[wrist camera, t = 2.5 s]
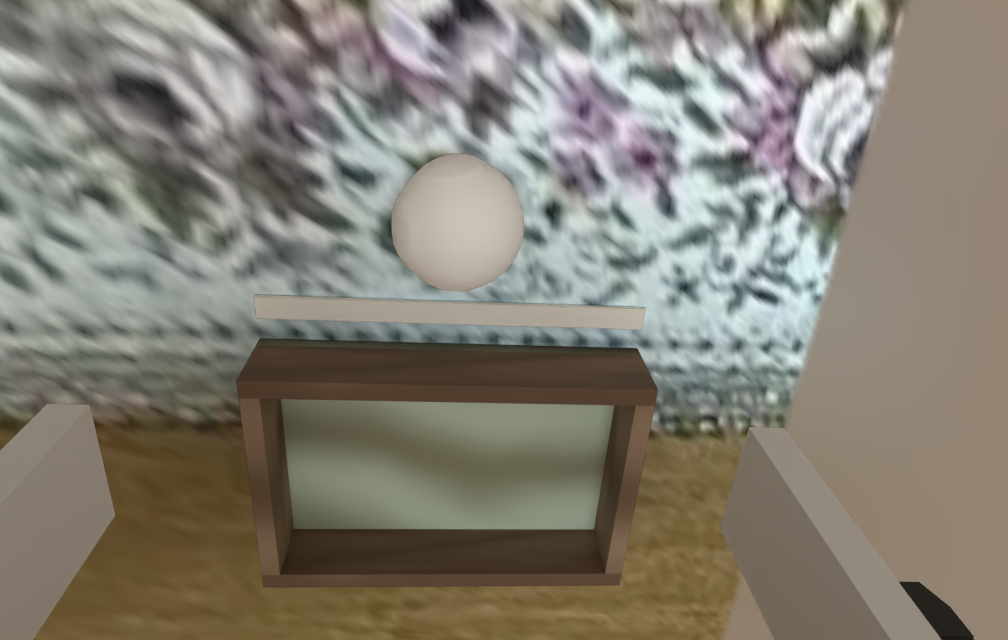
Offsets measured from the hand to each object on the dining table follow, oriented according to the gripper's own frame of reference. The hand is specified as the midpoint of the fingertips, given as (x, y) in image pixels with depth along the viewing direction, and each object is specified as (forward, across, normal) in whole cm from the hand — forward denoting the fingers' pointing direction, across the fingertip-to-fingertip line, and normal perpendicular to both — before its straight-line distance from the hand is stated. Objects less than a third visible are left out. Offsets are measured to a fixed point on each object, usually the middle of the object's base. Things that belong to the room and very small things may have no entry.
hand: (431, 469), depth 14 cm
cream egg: (+15, 0, +1) cm, 15 cm away
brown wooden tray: (+15, +1, -11) cm, 19 cm away
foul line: (+15, 0, -4) cm, 16 cm away
